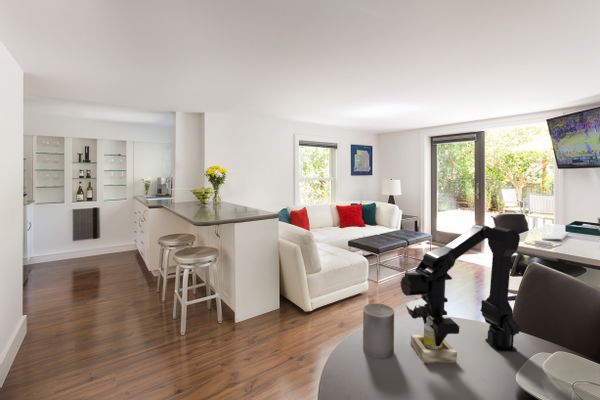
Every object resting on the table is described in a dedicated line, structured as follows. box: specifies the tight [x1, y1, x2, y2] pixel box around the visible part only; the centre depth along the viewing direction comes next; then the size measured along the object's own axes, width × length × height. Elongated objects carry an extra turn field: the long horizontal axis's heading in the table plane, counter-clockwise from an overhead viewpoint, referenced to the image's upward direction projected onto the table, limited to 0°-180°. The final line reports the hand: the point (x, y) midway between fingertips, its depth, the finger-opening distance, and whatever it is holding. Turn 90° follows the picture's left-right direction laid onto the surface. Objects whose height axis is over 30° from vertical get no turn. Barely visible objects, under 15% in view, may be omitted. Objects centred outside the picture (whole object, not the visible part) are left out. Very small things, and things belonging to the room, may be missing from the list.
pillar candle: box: [362, 302, 395, 360], centre depth 94 cm, size 10×10×15 cm
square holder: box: [410, 334, 458, 364], centre depth 93 cm, size 10×10×3 cm
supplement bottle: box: [423, 316, 442, 350], centre depth 93 cm, size 5×5×10 cm
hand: (433, 340), depth 93 cm, fingers closed on supplement bottle, 5 cm apart
